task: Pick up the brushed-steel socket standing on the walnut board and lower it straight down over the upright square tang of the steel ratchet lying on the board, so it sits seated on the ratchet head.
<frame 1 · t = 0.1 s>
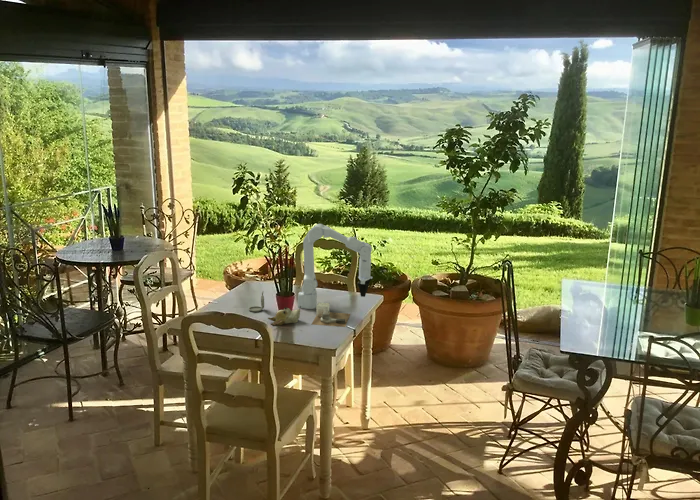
hand: (363, 294, 290), 10 cm above the table, fingers open, 7 cm apart
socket: (322, 315, 283), point 1 cm above the table, touching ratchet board
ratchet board: (331, 321, 279), on the table
ceramic sculpture: (284, 325, 273), on the table
grey piece: (258, 310, 292), on the table
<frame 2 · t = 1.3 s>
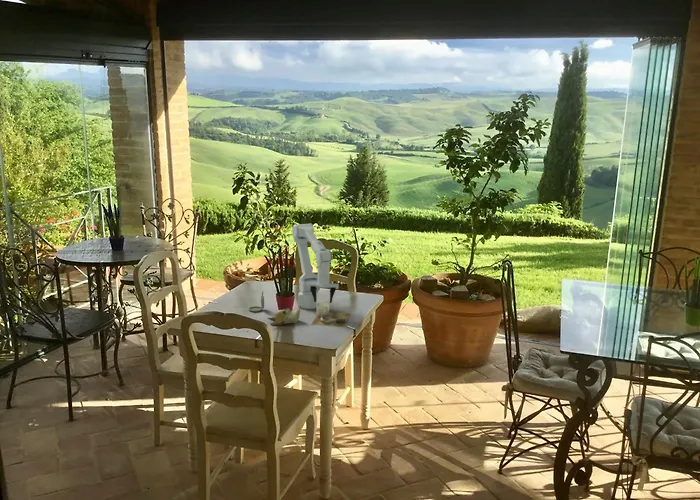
hand: (323, 302, 281), 8 cm above the table, fingers open, 7 cm apart
nothing on the table moved.
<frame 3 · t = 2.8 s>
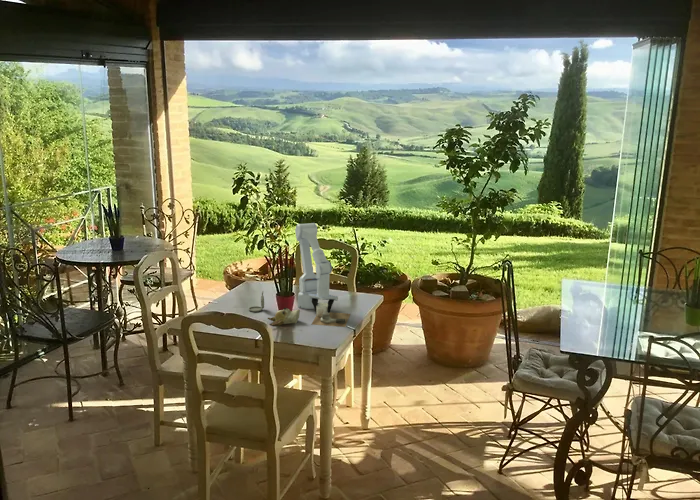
hand: (322, 313, 282), 2 cm above the table, fingers closed on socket, 5 cm apart
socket: (322, 315, 283), point 1 cm above the table, touching gripper, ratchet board
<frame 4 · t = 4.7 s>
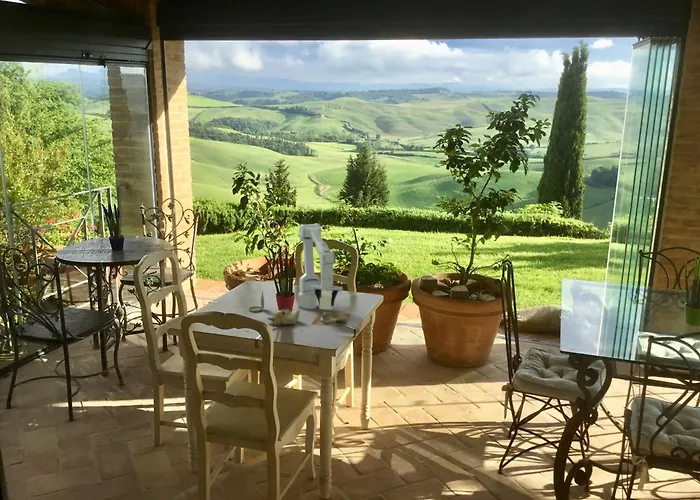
hand: (326, 305, 273), 9 cm above the table, fingers closed on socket, 5 cm apart
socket: (326, 307, 273), point 8 cm above the table, touching gripper
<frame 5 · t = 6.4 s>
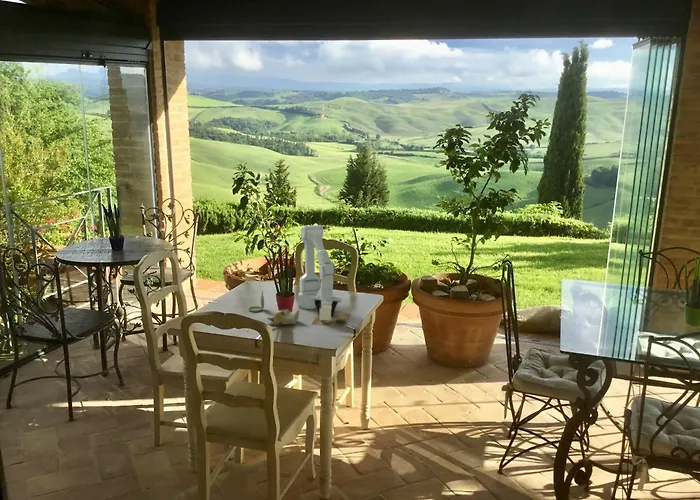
hand: (326, 315, 274), 4 cm above the table, fingers closed on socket, 5 cm apart
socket: (326, 318, 274), point 3 cm above the table, touching gripper
when the fingers open (4 cm above the table, at t = 7.1 s): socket stays where it is, resting on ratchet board.
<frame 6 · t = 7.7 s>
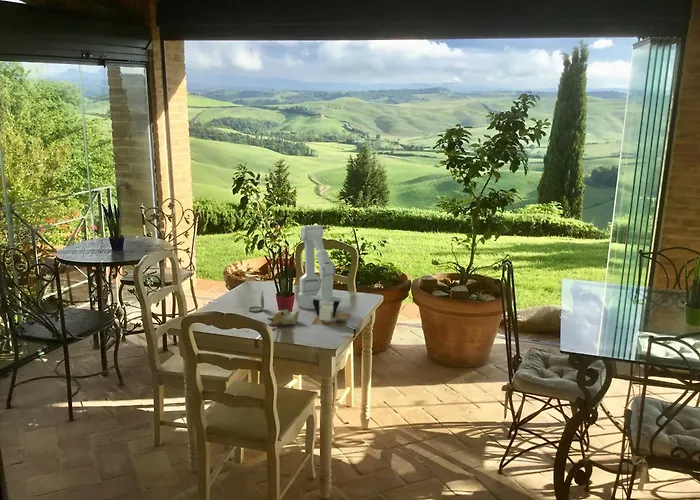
hand: (326, 315, 274), 4 cm above the table, fingers open, 7 cm apart
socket: (326, 318, 274), point 3 cm above the table, touching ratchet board
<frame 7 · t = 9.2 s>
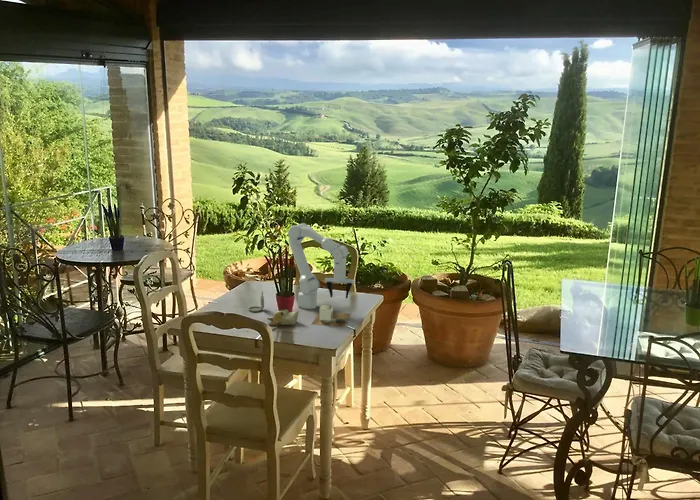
hand: (339, 297, 286), 9 cm above the table, fingers open, 7 cm apart
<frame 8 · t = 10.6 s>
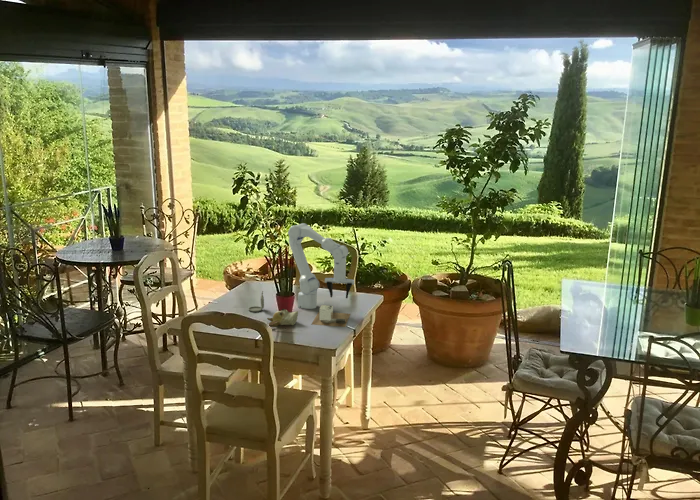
hand: (339, 297, 286), 9 cm above the table, fingers open, 7 cm apart
at the end: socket 0.0 cm from the target spot, point 3.0 cm above the table; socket tilted 0°; the gripper is holding nothing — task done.
